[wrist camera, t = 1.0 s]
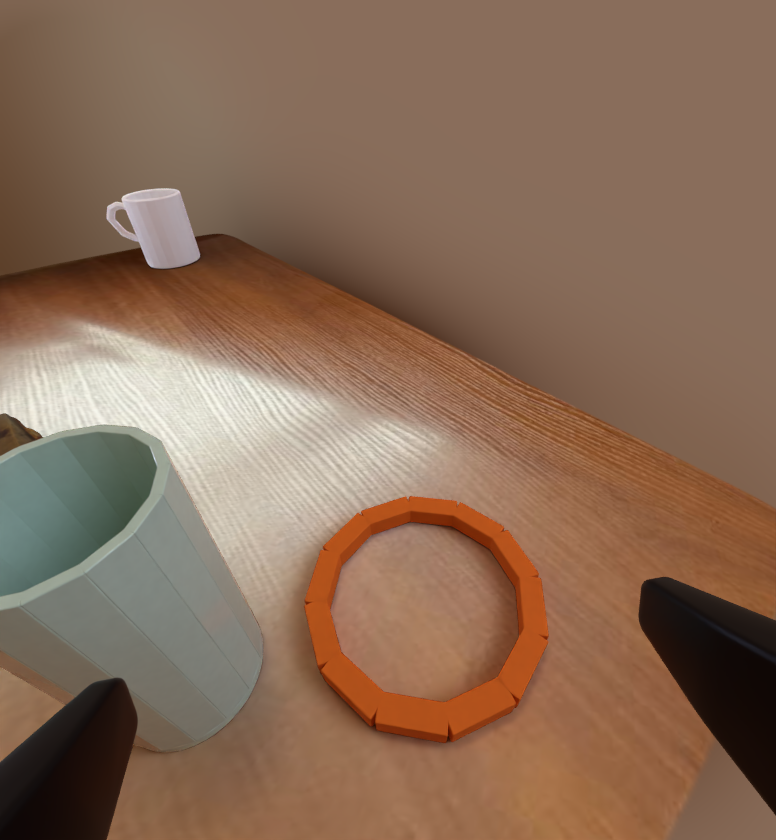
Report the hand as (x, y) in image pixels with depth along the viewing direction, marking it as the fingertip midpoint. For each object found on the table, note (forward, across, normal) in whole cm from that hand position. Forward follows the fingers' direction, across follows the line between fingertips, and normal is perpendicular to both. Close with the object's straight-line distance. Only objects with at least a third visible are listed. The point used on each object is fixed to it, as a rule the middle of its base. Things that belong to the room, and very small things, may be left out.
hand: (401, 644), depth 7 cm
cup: (+12, +10, +11) cm, 19 cm away
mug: (+71, +27, -15) cm, 78 cm away
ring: (+13, -2, +10) cm, 17 cm away
